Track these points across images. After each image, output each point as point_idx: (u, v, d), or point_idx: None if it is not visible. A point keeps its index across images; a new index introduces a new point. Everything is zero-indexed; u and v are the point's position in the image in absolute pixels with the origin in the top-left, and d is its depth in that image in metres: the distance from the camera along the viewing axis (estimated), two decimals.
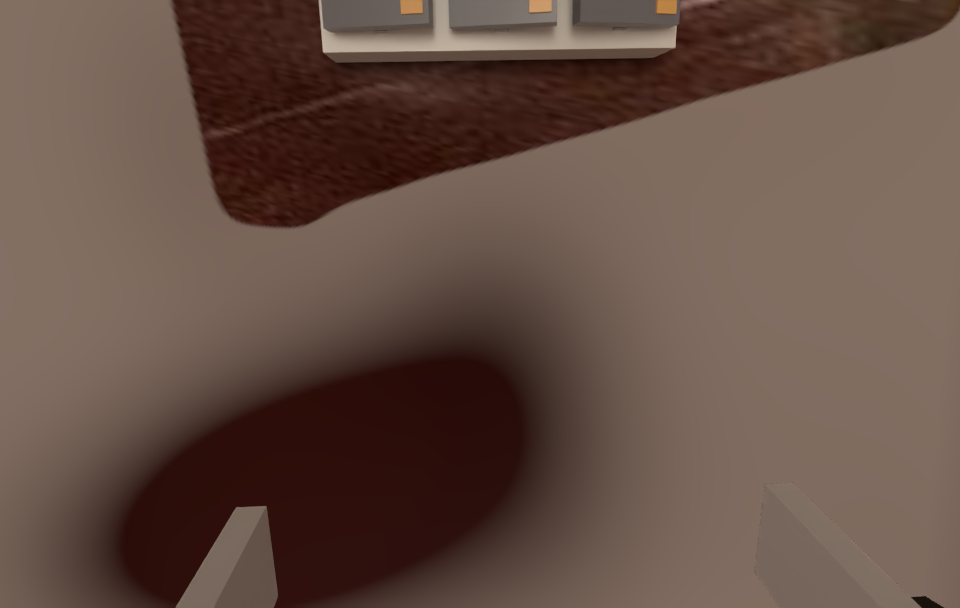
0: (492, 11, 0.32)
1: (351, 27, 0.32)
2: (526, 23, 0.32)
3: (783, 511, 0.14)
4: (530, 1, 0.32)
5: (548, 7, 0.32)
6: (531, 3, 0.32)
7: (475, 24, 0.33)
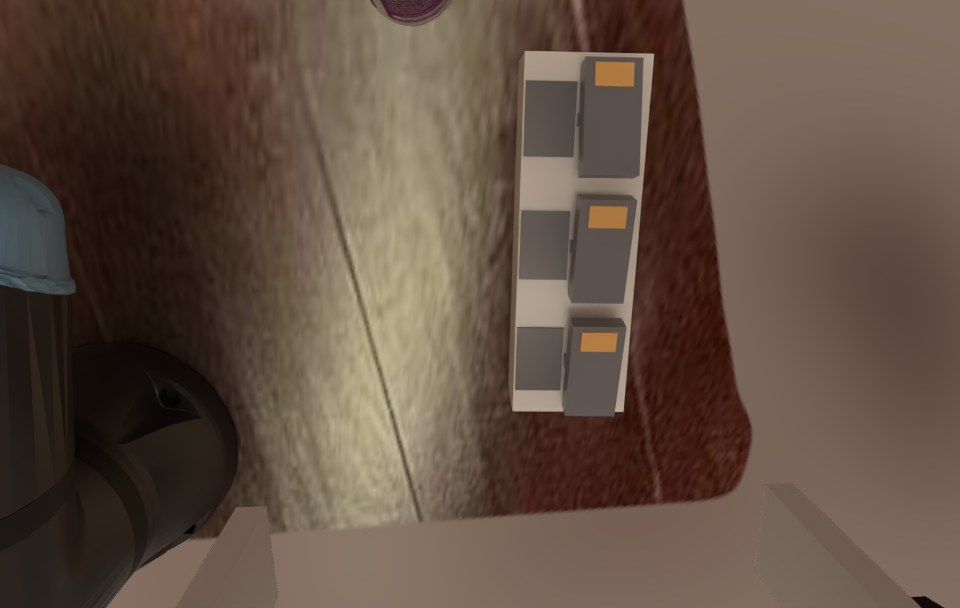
0: (616, 263, 0.32)
1: (616, 392, 0.35)
2: (632, 230, 0.32)
3: (784, 511, 0.14)
4: (614, 226, 0.31)
5: (623, 209, 0.31)
6: (617, 226, 0.31)
7: (625, 279, 0.33)
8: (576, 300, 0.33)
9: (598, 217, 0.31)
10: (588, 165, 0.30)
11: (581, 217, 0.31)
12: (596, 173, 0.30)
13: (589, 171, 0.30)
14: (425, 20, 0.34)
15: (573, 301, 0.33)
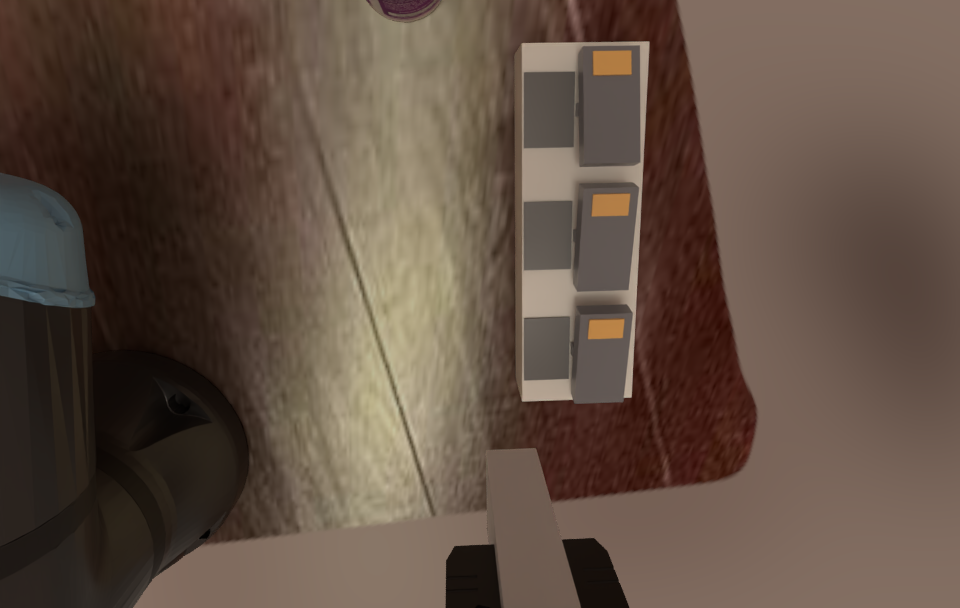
0: (620, 250, 0.33)
1: None
2: None
3: (514, 471, 0.16)
4: (617, 213, 0.32)
5: (626, 196, 0.31)
6: (620, 213, 0.32)
7: (629, 265, 0.33)
8: (582, 288, 0.33)
9: (601, 205, 0.31)
10: (590, 154, 0.31)
11: (584, 206, 0.31)
12: (598, 162, 0.31)
13: (590, 160, 0.31)
14: (420, 16, 0.34)
15: (579, 290, 0.34)
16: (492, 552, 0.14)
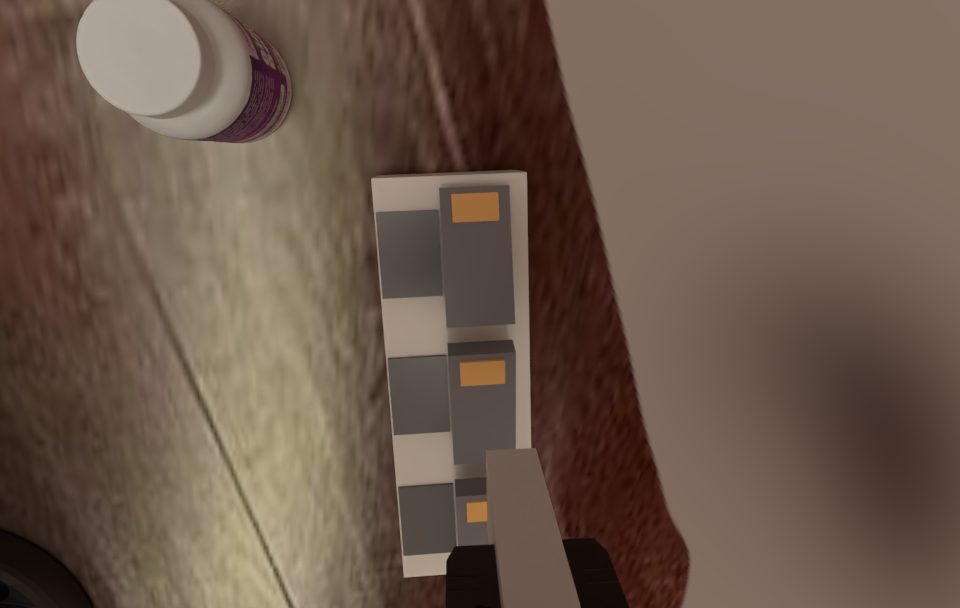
0: (501, 419, 0.27)
1: None
2: None
3: (513, 471, 0.16)
4: (492, 381, 0.26)
5: (500, 363, 0.26)
6: (495, 382, 0.26)
7: (514, 435, 0.28)
8: (459, 461, 0.28)
9: (471, 374, 0.26)
10: (452, 316, 0.25)
11: (451, 375, 0.26)
12: (463, 325, 0.25)
13: (454, 323, 0.25)
14: (258, 138, 0.28)
15: (456, 462, 0.28)
16: (492, 552, 0.14)
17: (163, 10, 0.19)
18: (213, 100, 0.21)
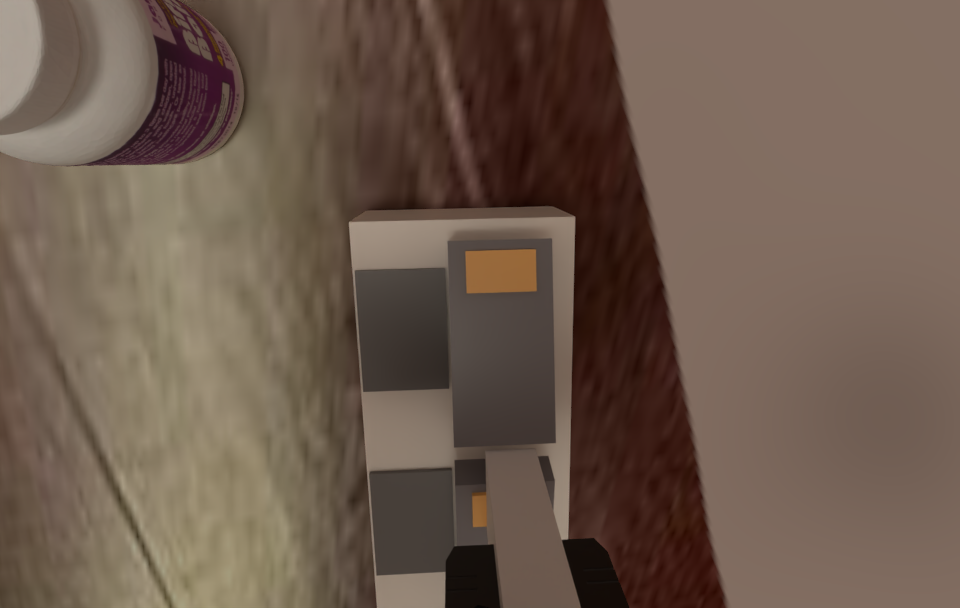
0: None
1: None
2: None
3: (513, 471, 0.16)
4: None
5: None
6: None
7: None
8: None
9: None
10: (464, 431, 0.17)
11: (459, 510, 0.18)
12: (478, 444, 0.17)
13: (465, 441, 0.17)
14: (195, 158, 0.20)
15: None
16: (491, 552, 0.14)
17: None
18: (89, 106, 0.13)
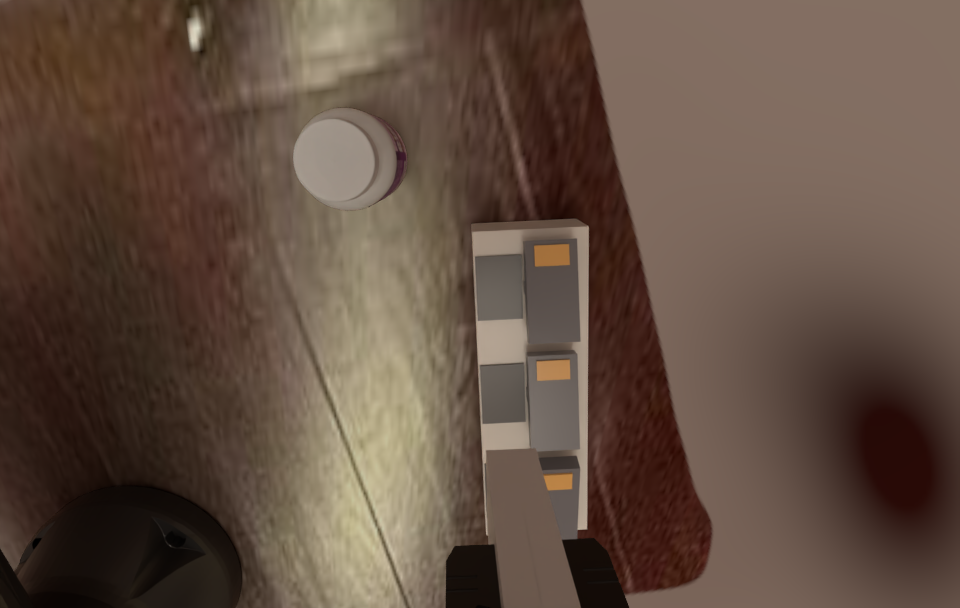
0: (567, 411, 0.36)
1: None
2: (577, 380, 0.35)
3: (514, 471, 0.16)
4: (560, 377, 0.35)
5: (566, 362, 0.35)
6: (562, 377, 0.35)
7: (578, 425, 0.36)
8: (536, 448, 0.36)
9: (545, 370, 0.35)
10: (534, 336, 0.34)
11: (530, 371, 0.35)
12: (541, 342, 0.34)
13: (535, 340, 0.34)
14: None
15: None
16: (492, 552, 0.14)
17: (352, 133, 0.28)
18: (373, 186, 0.30)
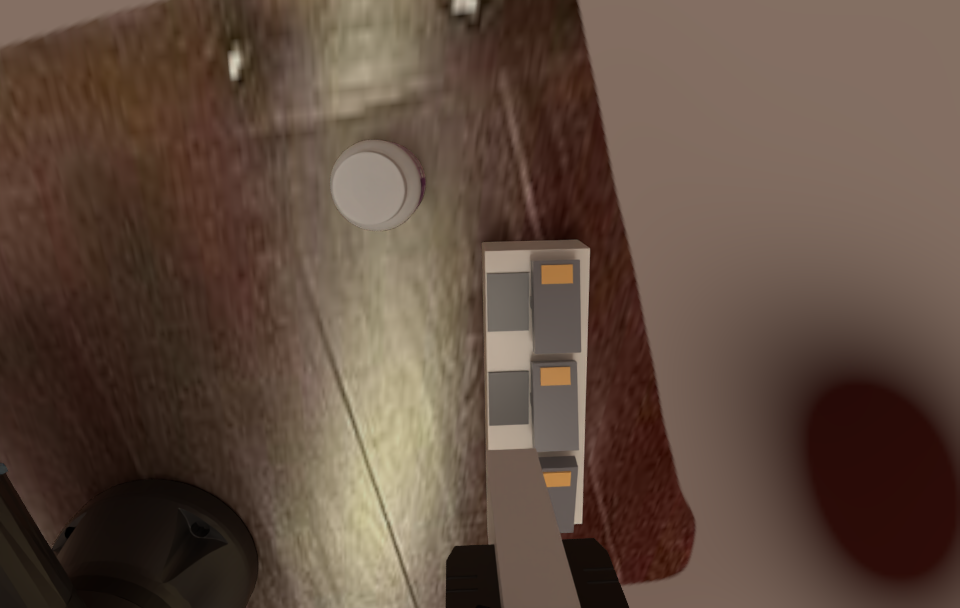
0: (568, 414, 0.39)
1: None
2: None
3: (513, 471, 0.16)
4: (561, 383, 0.39)
5: (567, 369, 0.39)
6: (563, 383, 0.39)
7: (577, 428, 0.39)
8: (539, 449, 0.39)
9: (548, 376, 0.39)
10: (539, 346, 0.37)
11: (534, 377, 0.39)
12: (546, 352, 0.38)
13: (540, 351, 0.38)
14: None
15: (536, 450, 0.39)
16: (492, 552, 0.14)
17: (385, 165, 0.31)
18: (400, 210, 0.34)
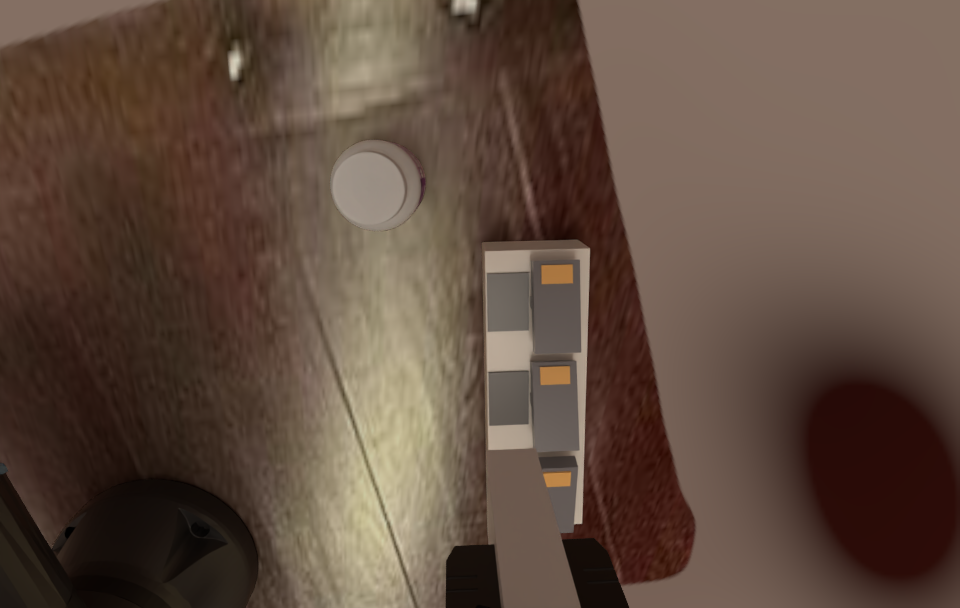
0: (568, 414, 0.39)
1: None
2: (576, 385, 0.39)
3: (514, 471, 0.16)
4: (561, 382, 0.39)
5: (566, 368, 0.39)
6: (563, 382, 0.39)
7: (577, 428, 0.39)
8: (539, 449, 0.39)
9: (547, 375, 0.39)
10: (539, 346, 0.37)
11: (534, 376, 0.39)
12: (546, 352, 0.38)
13: (540, 351, 0.38)
14: None
15: (537, 450, 0.39)
16: (492, 552, 0.14)
17: (385, 165, 0.31)
18: (400, 210, 0.34)
